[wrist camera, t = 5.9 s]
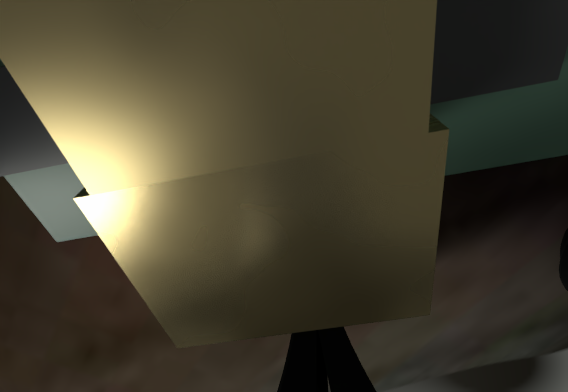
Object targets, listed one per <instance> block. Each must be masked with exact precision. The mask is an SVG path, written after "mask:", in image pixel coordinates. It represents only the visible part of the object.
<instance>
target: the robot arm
mask: <svg viewBox="0 0 568 392" xmlns="http://www.w3.org/2000/svg"><path fill="white" fill-rule="evenodd" d="M327 375H328V378H327ZM328 380H329V385H330V390H331V392H376V390H375V388H374V387H373V385H372V383H371V381H370V380H369V378H368V376H367V374H366V372H365V370H364V369H363V367H362V365H361V363H360V361H359V359H358V357H357V355H356V353H355V351H354V349H353V347H352V345H351V343H350V340H349V338H348V336H347V334H346V331H345V329H344V327H335V328H327V329H320V330H312V331H304V332H297V333H292V334H291V340H290V345H289V349H288V353H287V357H286V362H285V366H284V370H283V374H282V377H281V381H280V384H279V387H278V391H277V392H328Z"/></svg>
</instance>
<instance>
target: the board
mask: <svg viewBox="0 0 568 392" xmlns="http://www.w3.org/2000/svg"><path fill="white" fill-rule="evenodd" d="M430 114H432V115H433V116H434V117H435V118H436V119H438V120H439V121H440V122H441V123H443V124H444V125H445V126H446V127H447V128H449V138H448V147H447V157H446V166H445V176H446V175H452V174H458V173H464V172H469V171H475V170H481V169H487V168H493V167H499V166H504V165H510V164H516V163H522V162H528V161H534V160H539V159H545V158H551V157H557V156H563V155H568V0H437V10H436V25H435V40H434V55H433V71H432V86H431V101H430ZM0 176H4V177H5V178H6V180H7V181H8V182H9V183H10V185H11V186H12V187H13V188H14V189H15V191H16V192H17V193H18V194H19V196H20V197H21V198H22V199H23V201H24V202H25V203H26V204H27V206H28V207H29V208H30V209H31V211H32V212H33V213H34V214H35V215H36V217H37V218H38V219H39V220H40V222H41V223H42V224H43V225H44V227H45V228H46V229H47V230H48V232H49V233H50V234H51V235H52V237H53V238H54V239H55V240H56V241H57V242H61V241H66V240H72V239H78V238H84V237H90V236H96V235H98V234H97V232H96V231H95V229H94V228H93V226H92V225H91V223H90V222H89V221H88V219H87V218H86V216H85V215H84V213H83V212H82V211H81V209H80V208H79V206H78V205H77V203H76V202H75V200H74V199H73V198H74V197H75V196H76V195H77V194H78V193H79V192H80V191H81V190H82V189H83V188H84V185H83V184H82V182H81V181H80V179H79V178H78V176H77V175H76V173H75V172H74V170H73V169H72V167H71V166H70V164H69V163H68V161H67V160H66V158H65V156H64V155H63V153H62V152H61V150H60V149H59V147H58V146H57V144H56V143H55V141H54V140H53V138H52V137H51V135H50V134H49V132H48V131H47V129H46V127H45V126H44V124H43V123H42V121H41V120H40V118H39V117H38V115H37V114H36V112H35V111H34V109H33V108H32V106H31V105H30V103H29V102H28V100H27V98H26V97H25V95H24V94H23V92H22V91H21V89H20V88H19V86H18V85H17V83H16V82H15V80H14V79H13V77H12V76H11V74H10V73H9V71H8V69H7V68H6V66H5V65H4V63H3V62H2V60H1V59H0Z"/></svg>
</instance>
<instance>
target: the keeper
mask: <svg viewBox="0 0 568 392" xmlns="http://www.w3.org/2000/svg"><path fill="white" fill-rule="evenodd" d="M436 10H437V0H0V59H1V60H2V62H3V63H4V65H5V66H6V68H7V69H8V71H9V73H10V74H11V76H12V77H13V79H14V80H15V82H16V83H17V85H18V86H19V88H20V89H21V91H22V92H23V94H24V95H25V97H26V98H27V100H28V102H29V103H30V105H31V106H32V108H33V109H34V111H35V112H36V114H37V115H38V117H39V118H40V120H41V121H42V123H43V124H44V126H45V127H46V129H47V131H48V132H49V134H50V135H51V137H52V138H53V140H54V141H55V143H56V144H57V146H58V147H59V149H60V150H61V152H62V153H63V155H64V156H65V158H66V160H67V161H68V163H69V164H70V166H71V167H72V169H73V170H74V172H75V173H76V175H77V176H78V178H79V179H80V181H81V182H82V184H83V185H84V188H83V189H82V190H81V191H80V192H79V193H78V194H77V195H76V196H75V197H74V198H73V199H74V200H75V202H76V203H77V205H78V206H79V208H80V209H81V211H82V212H83V213H84V215H85V216H86V218H87V219H88V221H89V222H90V223H91V225H92V226H93V228H94V229H95V231H96V232H97V234H98V235H99V236H100V238H101V239H102V241H103V242H104V244H105V245H106V246H107V248H108V249H109V251H110V252H111V254H112V255H113V256H114V258H115V259H116V261H117V262H118V264H119V265H120V267H121V268H122V269H123V271H124V272H125V274H126V275H127V277H128V278H129V279H130V281H131V282H132V284H133V285H134V287H135V288H136V290H137V291H138V292H139V294H140V295H141V297H142V298H143V300H144V301H145V302H146V304H147V305H148V307H149V308H150V310H151V311H152V313H153V314H154V315H155V317H156V318H157V320H158V321H159V323H160V324H161V325H162V327H163V328H164V330H165V331H166V333H167V334H168V335H169V337H170V338H171V340H172V341H173V343H174V344H175V346H176V347H177V348H183V347H190V346H198V345H206V344H213V343H221V342H228V341H236V340H244V339H251V338H259V337H266V336H274V335H282V334H289V333H297V332H304V331H312V330H320V329H327V328H335V327H343V326H350V325H358V324H365V323H373V322H381V321H388V320H396V319H403V318H411V317H419V316H426V315H430V310H431V300H432V291H433V281H434V272H435V262H436V252H437V243H438V233H439V224H440V214H441V205H442V195H443V186H444V176H445V166H446V157H447V147H448V138H449V128H447V127H446V126H445V125H444V124H443V123H441V122H440V121H439V120H438V119H436V118H435V117H434V116H433V115H432V114H430V101H431V86H432V71H433V55H434V40H435V25H436Z"/></svg>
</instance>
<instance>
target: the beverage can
mask: <svg viewBox="0 0 568 392" xmlns="http://www.w3.org/2000/svg"><path fill="white" fill-rule="evenodd" d="M560 258H561V259H560V265H559V274H560V279H561V281H562V283H563V285H564V287H565V288H566V290H567V291H568V229H567V231H566V233H565V235H564V237H563V240H562V243H561V248H560Z"/></svg>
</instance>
